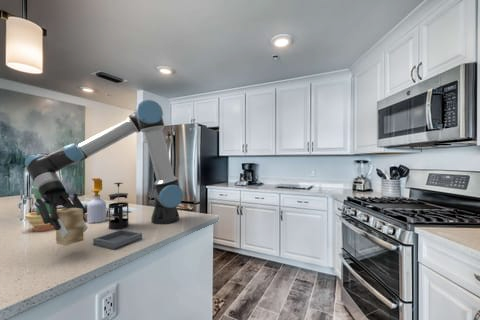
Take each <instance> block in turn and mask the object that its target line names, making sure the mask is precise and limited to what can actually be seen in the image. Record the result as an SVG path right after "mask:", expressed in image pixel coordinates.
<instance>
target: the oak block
mask: <svg viewBox="0 0 480 320" xmlns="http://www.w3.org/2000/svg"><path fill="white" fill-rule="evenodd" d="M56 212H57V220H58V219H61V221H62V223H63V224H64V226H65V228H66V230H67V232H68V234H67V236H66V237H65V238H62V236H61V234H60V232H59V230H55V241H56V243H55V244H56V245H60V246H63V247H66V246H71V245H73V244H77V243H79V242H82V241H84V237H85V236H84V232H83V216H84V215H83V209H80V208H69V209H67V208H64V209H62V210H58V211H56Z"/></svg>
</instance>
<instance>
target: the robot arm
mask: <svg viewBox="0 0 480 320" xmlns="http://www.w3.org/2000/svg"><path fill="white" fill-rule="evenodd" d="M163 116H164V111H163V108H162V106H161V104H159V103H158V102H156V101H155V100H151V99H145V100H142V101H141V102H139V103H138V104H137V106H136V107H135V111H134V112H133V113H131V114H130V115H128V116H127V117H126V119H125V120H123V121H122V122H119V123H117V124H115V125H114V126H111V127H110V128H109V127H108V129H105V130H104V131H102V132H99V133H97V134H96V135H93V136H91V137H90V138H88V139H86V140H84V141H81V142H80V143H78V144H76V143H74V142H73V143H70V144H68V145H65V146H64V147H61V148H59V149H58V150H55V151H54V152H51V153H49V154H46V155H45V154H42V153H37V154H32V155H30V156H28V157H27V158H26V159H25V160H24V165H25V168H26V171H27V172H28V174H29V176H30V177H31V179H32V181H33V183H34V184H35V185H36V187H37V189H38V190H39V193H40V195H41V197H42V199H37V200H36V199H35V202H34V205H35V207H36V206H37V207H38V209H39V212H40V214H41V217H42V219H43V222H44V224H48V223H50V225H53V226H54V228H53V229H54V230H55V231H56V230H59V232H60V234H61V236H62V238H65V237H66V236H67V234H68V232H67V230H66V228H65V226H64V224H63V223H62V221H61V219H58V220H57V212H56V211H57V209H58V206H62V207H63V208H65V209H69V208H80V209H83V233H85V232H86V231H87V229H89V226H88V225H87V223H86V222H87V221H86V218H85V215H86V214H87V208H86V207H85V206H84V205H83V203H82V201H81V200H80V198H79V197H78V193H73V194H69V193H68V192H67V190H66V188H65V186H64V184H63V183H62V181H61V179H60V177H59V175H58V173H57V172H59V171H61V170H63V169H65V168H68V166H76V165H78V164H81V162H83V161H85V160H86V159H88V158H90V157H92V156H94V155H96V154H97V153H99V152H100V151H103V150H105V149H107V148H108V147H110V146H112V145H114V144H116V143H118V142H119V141H122V140H124V138H125V139H126V138H127V137H128V136H131V135H132V134H134V133H137V134H138V133H140V132H141V133H143V134H144V136H145V141H146V144H147V149H148V152H149V155H150V159H151V163H152V167H153V170H154V171H153V172H154V175H155V179H156V181H154V183H153V188H154V189H153V190H154V195H153V197H154V203H153V204H154V209H153V211H152V214H151V219H150V220H151V221H150V222H151V223H153V224H156V225H164V224H165V225H166V224H171V223H176V222H177V221H180V215H179V211H178V209H177V207H178V206H179V205H180V204H181V202H182V201H183V198H184V191H183V190H182V188H181V186H180V183H179V178H178V177H176V176H175V175H174V170H173V168H172V167H173V166H172V164H171V159H170V156H169V151H168V147H167V143H166V140H165V136H164V132H163V130H164V128H165V123H164V119H163V118H164V117H163ZM44 202H45V203H47V204H49V205H50V215H49V213H48V210H47V208H46V205H45V203H44ZM50 216H51V218H50Z"/></svg>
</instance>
